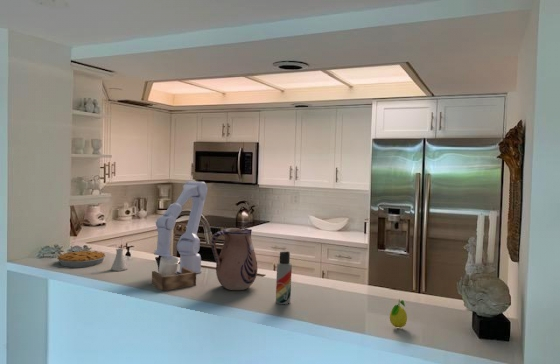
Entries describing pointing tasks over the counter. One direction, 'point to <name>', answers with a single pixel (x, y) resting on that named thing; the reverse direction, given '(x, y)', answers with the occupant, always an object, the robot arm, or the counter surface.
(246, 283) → the ceramic pitcher
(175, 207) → the robot arm
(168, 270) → the white cup
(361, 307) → the counter surface
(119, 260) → the flask
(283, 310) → the counter surface
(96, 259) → the pie
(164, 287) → the wooden box
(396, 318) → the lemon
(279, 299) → the lotion bottle
